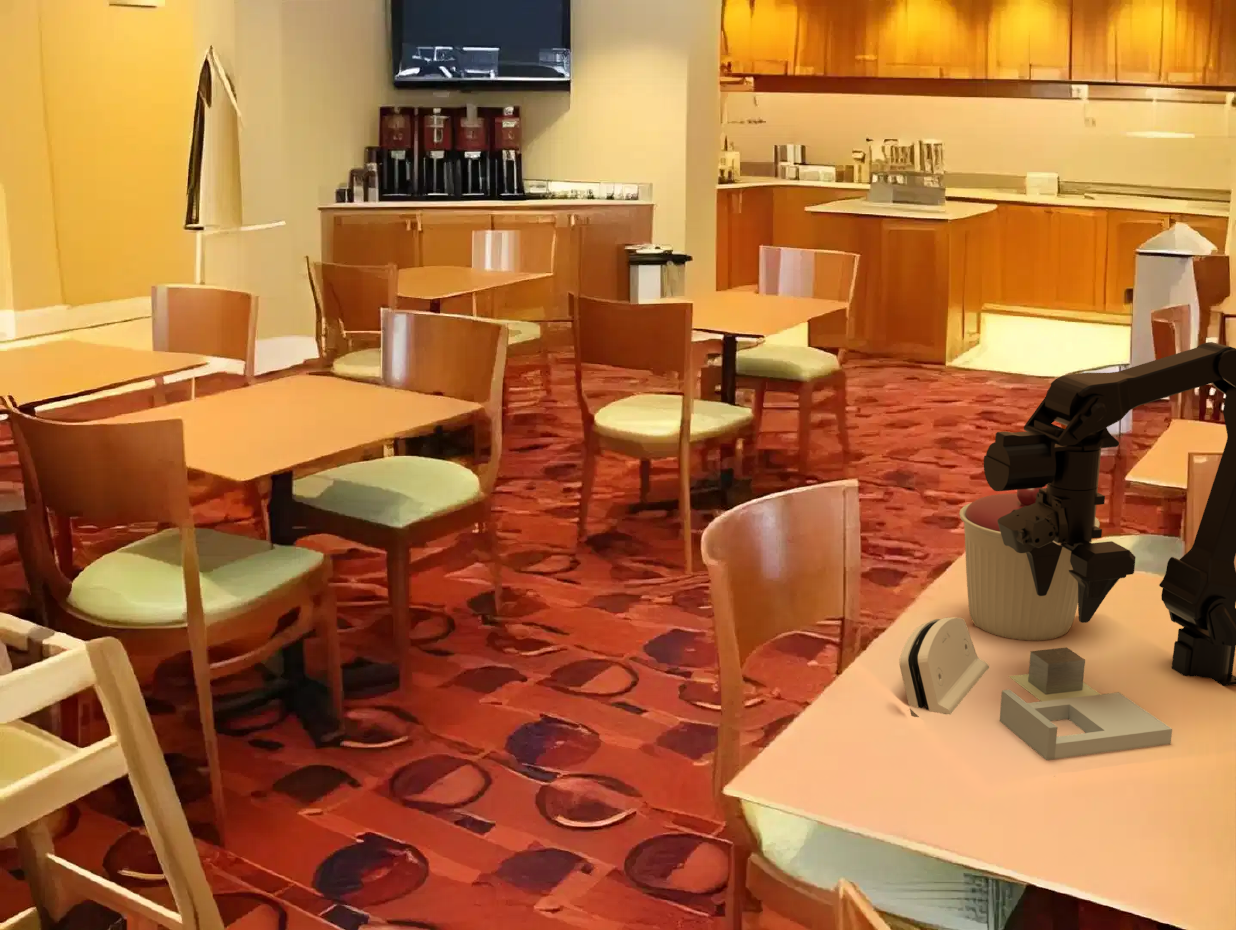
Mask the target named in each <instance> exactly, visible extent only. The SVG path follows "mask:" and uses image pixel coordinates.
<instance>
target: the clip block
mask: <svg viewBox="0 0 1236 930" xmlns="http://www.w3.org/2000/svg"><path fill="white" fill-rule="evenodd" d="M1085 665H1086V659H1084V658H1083V657H1082V656H1080V655H1079V654H1077V653H1076V652H1074V651H1073V650H1072V649H1070V648H1069V647H1059V648H1058V647H1057V648H1049V649H1040V650H1032V651H1030V655H1029V665H1028V674H1029V676H1028V682H1029V683H1031V684H1032V685H1033V686H1035V687H1036V688H1037V689H1039V690H1040V691H1041V692H1043V693H1044V694H1045V695H1047V694H1056V693H1064V692H1073V691H1081V690H1082V689H1083V682H1084V676H1085V675H1084V674H1085V668H1086V667H1085Z"/></svg>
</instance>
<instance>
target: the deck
mask: <svg viewBox="0 0 1236 930" xmlns="http://www.w3.org/2000/svg"><path fill="white" fill-rule="evenodd" d="M1000 696H1001V697H1000V710H999V722H1000V723H1001V724H1002V725H1003V726H1004V727H1006V728H1007V729H1009V730H1010V732H1012V733H1013V734H1014V735H1016V737H1018V738H1019V739H1021V740H1022V742H1024V743H1025V744H1026V745H1027V746H1029V747H1030V748H1031V749H1032V750H1033V751H1035V752H1036V753H1037V754H1038V755H1039V756H1041V757H1042V758H1043V759H1044V760H1046V761H1051V760H1059V759H1069V758H1075V757H1076V758H1077V757H1081V756H1082V757H1083V756H1089V755H1090V756H1091V755H1098V754H1105V753H1113V752H1121V751H1127V750H1128V751H1129V750H1136V749H1144V748H1153V747H1159V746H1167V745H1171V744H1172V737H1173V736H1172V735H1173V734H1172V733H1173V728H1172V727H1170V726H1169V725H1167V724H1166V723H1165V722H1164V721H1162V720H1160V719H1158V718H1157V717H1156V716H1155V715H1153V714H1152V713H1150V712H1149V711H1147V710H1145V709H1144V708H1143V707H1141V706H1140V705H1138V704H1137V703H1135V702H1134V701H1133V700H1131V699H1130V698H1128V697H1127V696H1125V695H1123V694H1122V693H1121V692H1119V691H1117V692H1110V693H1100V695H1091V696H1083V697H1075V698H1066V699H1058V700H1049V701H1034V702H1026V701H1025V699H1022V698H1021V697H1020V696H1019V695H1017V694H1016V693H1015V692H1013V691H1012V690H1011V689H1009V688H1008V689H1002V690H1001V695H1000ZM1064 720H1069V721H1070V722H1072V723H1073V724H1074V725H1076V726H1077V727H1078V728H1079V729H1080V730H1082V731H1084V732H1083V733H1082V732H1081V733H1075V734H1067V735H1058V726H1057V725H1056V724H1055V723H1053V722H1054V721H1064Z"/></svg>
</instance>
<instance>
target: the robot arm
mask: <svg viewBox="0 0 1236 930" xmlns="http://www.w3.org/2000/svg"><path fill="white" fill-rule="evenodd" d="M1210 384H1211V385H1212V386H1213V388H1215V389H1217V390H1218V391H1219V392H1221V393H1222V394H1224V395H1225V397H1224V404H1223V410H1222V411H1223V412H1222V415H1223V419H1224V420H1223V421H1224V425H1225V430H1226V431H1225V432H1226V434H1227V435H1226V436H1227V438H1226V443H1225V445H1224V448H1223V452H1222V455H1221V457H1220V462H1219V464H1218V467H1217V470H1216V473H1215V476H1214V479H1213V482H1212V486H1211V489H1210V491H1209V495H1208V499H1207V502H1206V504H1205V507H1204V510H1203V513H1202V517H1201V520H1200V523H1199V526H1198V529H1197V533H1196V535H1195V538H1194V541H1193V545H1192V547H1191V549H1189V551H1187V552H1185V554H1184V555H1183V556H1182V557H1180V558H1176V557H1174V556H1171V557H1170V558H1169V559H1168V561H1167V564H1166V571H1165V573H1164V577H1163V579H1161V581H1160V583H1159V584H1158V585H1159V587H1161V588H1162V590H1161V601H1162V602H1163V604H1164V607H1165V608H1166V609H1167V610H1168V614H1169V618H1170V621H1171V622H1173V623H1176V624H1178V625H1180V626H1182V628H1178V632H1177V640H1175V642H1174V645H1173V653H1172V661H1171V662H1172V663H1171V669H1172V670H1174V671H1175V672H1177V673H1178V674H1181V675H1182V676H1183V677H1190V678H1191V677H1198V678H1204V679H1210V680H1212V681H1214V682H1216V683H1218V684H1219V685H1220V686H1222V687H1225V686H1234V685H1236V676H1235V675H1233V670H1234V664H1235V655H1236V566H1235V558H1236V347H1232V346H1229V345H1225V344H1221V343H1217V342H1213V341H1207V342H1205V343H1201V344H1199V345H1198V346H1197V347H1195V348H1190V349H1188V350H1184V351H1181V352H1178V353H1174V354H1171V355H1168V356H1165V357H1162V358H1158V359H1155V360H1151V361H1147V362H1145V363H1142V364H1138V365H1135V366H1132V367H1129V368H1126V369H1122V370H1120V371H1112V372H1082V373H1075V374H1074V373H1072V374H1066V375H1061V376H1059V377H1058V378H1057V377H1056V378H1055V379H1054V380H1053V381H1051V382H1050V387H1049V388H1048V390H1047V392H1046V396H1045V397H1044V398H1043V400H1041V402H1040V403H1039V405H1037V408H1036V409H1035V411H1034V412H1033V413H1032V415H1031V416H1030V417H1029V419H1028V420H1027V422H1026V423H1025V425H1023V430H1024V431H1016V432H1015V431H1014V432H1013V431H997V432H996V433H995V436H994V437H995V438H994V440H995V441H994V442H992V443H991V444H990V445H989V446H988V448H987V450H986V454H985V455H984V457H983V472H984V476H985V480H986V482H987V484H988V485H989V487H990V489H992V490H993V491H994V492H1007V491H1017V490H1021V489H1032V488H1042V489H1039V492H1037V495H1036V502H1035V503H1034V504H1032V505H1029V506H1024V507H1022V508H1020V509H1015V510H1013V511H1012V512H1011V513H1009V514H1007V515H1005V516H1002V517H1000V518H999V519H998V521H997V522H998V525H999V529H1000V532H1001V536H1002V539H1003V543H1004V545H1006V546H1010V547H1011V548H1013V549H1014V550H1015V551H1016V552H1018V553H1026V554H1027V557H1028V561H1029V564H1030V568H1031V572H1032V576H1033V580H1034V584H1035V588H1036V592H1037V595H1038V596H1045V595H1046V594H1047V592H1048V590H1049V587H1050V585H1051V582H1052V579H1053V576H1054V572H1055V569H1056V566H1057V563H1058V560H1059V557H1060V554H1061V550H1062V547H1064V548H1066V549H1068V550H1069V551H1071V556H1070V563H1071V565H1072V568H1073V570H1069V573H1070V574H1071V575H1072V576H1073V577H1074V578H1075V579H1076V580H1077V582H1078V605H1077V612H1078V621H1079V623H1081V624H1085V623H1089V622H1090V621H1091V619H1092V618H1093V616H1094V615H1095V614H1096V612H1097V610H1098V608H1099V607H1100V606H1101V604H1102V603H1103V601H1104V600H1105V598H1106V597H1107V595H1108V594H1109V593H1110V591H1111V590H1112V589H1113V588H1114V586H1115V585H1116V584H1117V582H1119V580H1120V579H1124V578H1127V576H1130V575H1134V574H1135V567H1136V566H1135V565H1136V558H1137V557H1136V556H1135V555H1134V554H1133V552H1132V551H1131V550H1130V549H1128V548H1126V547H1124V546H1122V545H1120V544H1118V543H1116V542H1114V541H1112V540H1111V541H1110V540H1109V541H1101V542H1091V543H1090V541H1091V539H1092V540H1093V539H1100V538H1102V534H1103V529H1102V528H1100V527H1099V528H1098V527H1096V526H1095V517H1096V513H1097V506H1100V505H1105V500H1106V499H1105V498H1106V496H1105V495H1104V494H1102V493H1099V492H1098V489H1099V479H1100V466H1101V456H1102V455H1101V454H1102V449H1105V448H1107V449H1108V448H1117V447H1118V446H1120V442H1119V440H1118V439H1116V438H1115V436H1113V435H1112V434H1111V433H1110V432H1109V430H1108V428H1110V427H1111V426H1112V425H1114V424H1116V423H1118V422H1120V421H1122V419H1124V417H1125V416H1126V415H1127V414H1128V413H1129V412H1130V411H1131V410H1134V409H1135V408H1137V407H1141V406H1142V405H1145V404H1146V405H1147V404H1149V403H1152V402H1155V401H1158V400H1159V401H1160V400H1162V399H1165V398H1169V397H1171V396H1175V395H1178V394H1182V393H1184V392H1187V391H1191V390H1195V389H1196V388H1197V389H1198V388H1200V387H1203V386H1207V385H1210ZM1054 422H1056V423H1058V424H1061V425H1064V426H1066V427H1065V428H1063V427H1061V426H1059V425H1056V424H1053V423H1054Z"/></svg>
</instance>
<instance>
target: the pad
mask: <svg viewBox="0 0 1236 930" xmlns="http://www.w3.org/2000/svg"><path fill="white" fill-rule="evenodd" d="M1028 676H1029V673H1026V674H1018V675H1017V674H1016V675H1009V676H1008V677H1009V678H1010V679H1011V680H1013V681H1014V682H1015V683H1016V684H1018V685H1019V686H1020V687H1022V688H1023V689H1024V690H1026V691H1027V692H1028V693H1030V694H1031V695H1032V697H1034V698H1036V699H1037V700H1039V702H1041V701H1049V700H1058V699H1066V698H1075V697H1083V696H1091V695H1100V694H1101V693H1100V692H1098V691H1097V690H1096V689H1094V688H1092V687H1091V686H1090V685H1088V684H1087V683H1086V682H1084V681H1083V689H1082V690H1081V691H1073V692H1064V693H1056V694H1047V695H1045V694H1044V693H1043V692H1041V691H1040V690H1039V689H1037V688H1036V687H1035V686H1033V685H1032V684H1031V683H1029V682H1028Z"/></svg>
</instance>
